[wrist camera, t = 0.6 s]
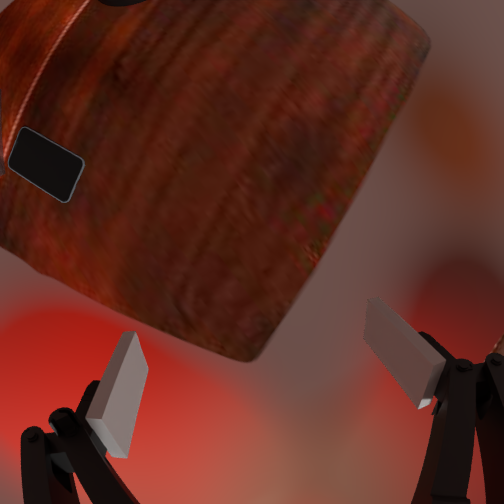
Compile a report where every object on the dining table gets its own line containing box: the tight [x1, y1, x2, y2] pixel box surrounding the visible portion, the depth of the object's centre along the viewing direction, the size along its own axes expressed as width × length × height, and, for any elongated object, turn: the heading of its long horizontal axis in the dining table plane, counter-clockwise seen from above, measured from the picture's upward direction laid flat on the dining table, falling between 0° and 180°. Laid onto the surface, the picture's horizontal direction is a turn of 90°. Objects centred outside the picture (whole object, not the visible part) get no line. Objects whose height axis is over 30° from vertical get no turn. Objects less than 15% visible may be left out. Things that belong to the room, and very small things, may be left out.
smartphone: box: [8, 127, 85, 203], centre depth 35 cm, size 7×1×15 cm
